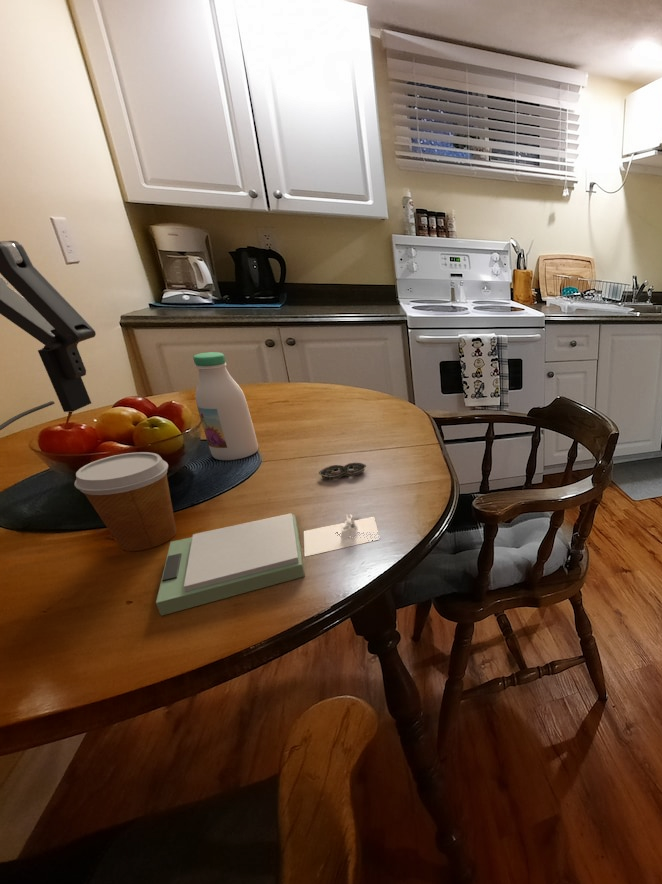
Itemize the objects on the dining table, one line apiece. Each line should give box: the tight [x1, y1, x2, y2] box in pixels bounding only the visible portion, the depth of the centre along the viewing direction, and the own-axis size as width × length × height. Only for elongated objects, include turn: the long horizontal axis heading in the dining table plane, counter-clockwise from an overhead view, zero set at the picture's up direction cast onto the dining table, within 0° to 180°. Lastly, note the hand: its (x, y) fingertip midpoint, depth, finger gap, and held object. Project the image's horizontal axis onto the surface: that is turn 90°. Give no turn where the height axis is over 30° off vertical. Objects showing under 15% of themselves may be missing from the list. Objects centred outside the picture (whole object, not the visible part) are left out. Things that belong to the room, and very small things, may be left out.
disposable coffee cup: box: [73, 451, 177, 552], centre depth 69 cm, size 10×10×12 cm
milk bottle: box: [192, 351, 259, 461], centre depth 94 cm, size 8×8×20 cm
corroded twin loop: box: [318, 462, 367, 481], centre depth 92 cm, size 5×8×1 cm, turn 116°
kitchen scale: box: [155, 512, 306, 617], centre depth 67 cm, size 14×15×3 cm
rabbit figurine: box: [340, 513, 359, 540], centre depth 75 cm, size 3×3×3 cm
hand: (1, 408), depth 51 cm, fingers open, 13 cm apart
